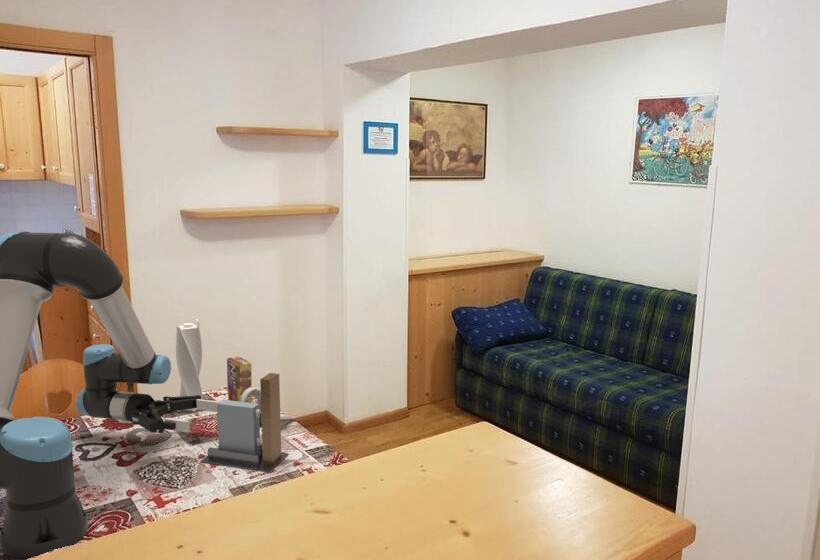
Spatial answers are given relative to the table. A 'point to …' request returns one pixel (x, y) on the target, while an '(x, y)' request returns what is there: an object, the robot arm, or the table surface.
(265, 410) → the base
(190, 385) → the skyscraper
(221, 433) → the door panel
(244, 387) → the candy box
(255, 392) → the watch
